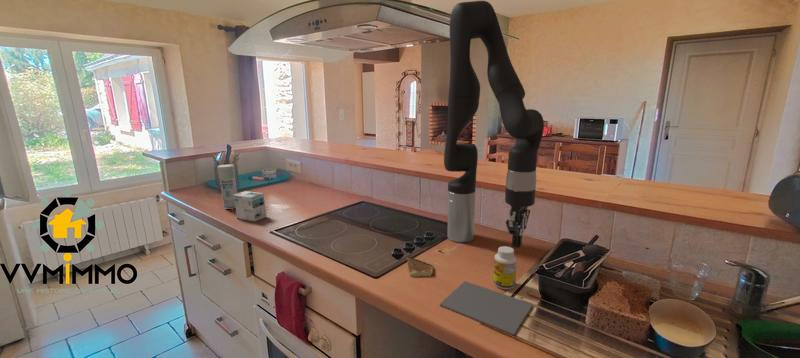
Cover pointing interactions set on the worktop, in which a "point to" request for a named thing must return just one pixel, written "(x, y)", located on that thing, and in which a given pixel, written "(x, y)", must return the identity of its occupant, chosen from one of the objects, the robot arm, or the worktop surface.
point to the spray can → (227, 185)
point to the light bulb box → (250, 206)
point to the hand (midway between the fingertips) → (516, 246)
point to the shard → (419, 267)
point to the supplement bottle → (505, 268)
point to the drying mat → (488, 307)
